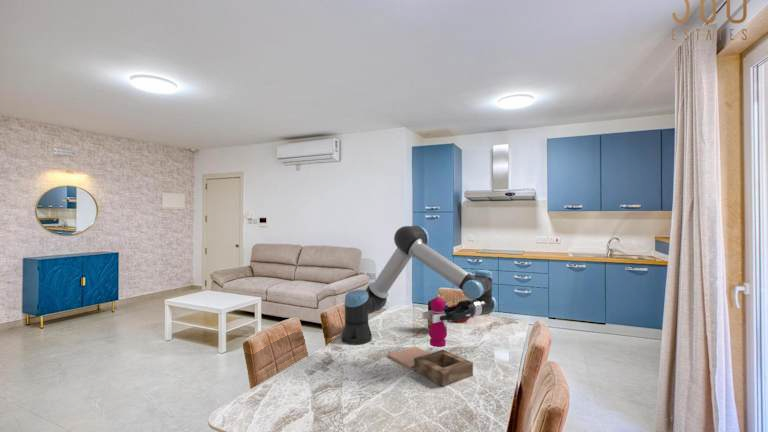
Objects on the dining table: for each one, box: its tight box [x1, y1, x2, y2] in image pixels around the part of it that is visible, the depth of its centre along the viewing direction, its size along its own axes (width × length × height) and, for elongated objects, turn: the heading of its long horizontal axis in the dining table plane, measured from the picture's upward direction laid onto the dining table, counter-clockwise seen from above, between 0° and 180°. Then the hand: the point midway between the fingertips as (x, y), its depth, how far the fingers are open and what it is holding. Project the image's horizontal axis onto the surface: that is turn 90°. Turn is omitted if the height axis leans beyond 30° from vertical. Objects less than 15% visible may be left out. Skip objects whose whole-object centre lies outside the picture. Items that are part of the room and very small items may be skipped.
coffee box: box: [427, 298, 449, 332], centre depth 188 cm, size 9×6×16 cm
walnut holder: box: [413, 349, 474, 388], centre depth 137 cm, size 16×16×5 cm
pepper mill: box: [428, 293, 448, 348], centre depth 140 cm, size 7×7×20 cm
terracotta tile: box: [386, 345, 431, 370], centre depth 152 cm, size 16×16×1 cm
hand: (428, 317), depth 137 cm, fingers closed on pepper mill, 5 cm apart
